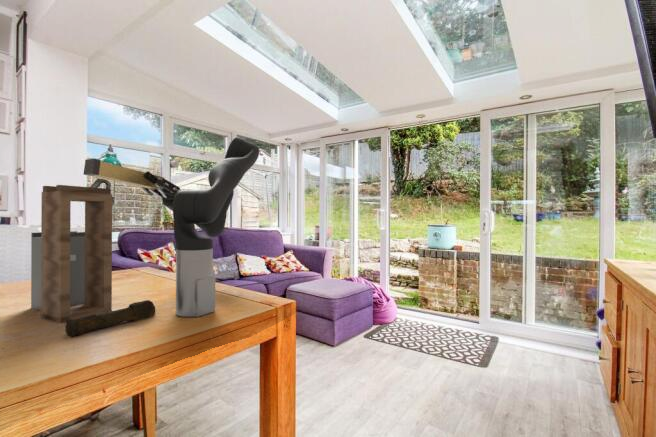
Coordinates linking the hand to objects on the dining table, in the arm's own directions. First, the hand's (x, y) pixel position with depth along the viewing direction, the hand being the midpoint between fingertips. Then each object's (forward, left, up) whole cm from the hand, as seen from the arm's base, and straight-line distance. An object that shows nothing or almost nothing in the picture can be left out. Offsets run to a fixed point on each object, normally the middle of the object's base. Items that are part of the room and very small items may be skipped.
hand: (140, 174), depth 102 cm
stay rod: (0, +4, -3) cm, 5 cm away
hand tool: (-17, +18, -40) cm, 47 cm away
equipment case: (+14, +15, -39) cm, 44 cm away
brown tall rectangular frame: (0, +18, -39) cm, 43 cm away
